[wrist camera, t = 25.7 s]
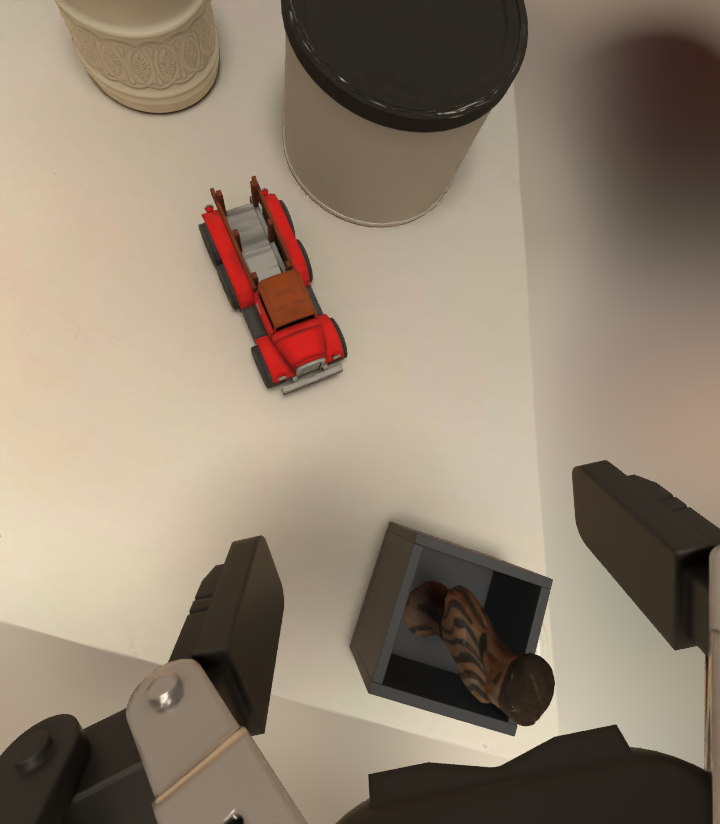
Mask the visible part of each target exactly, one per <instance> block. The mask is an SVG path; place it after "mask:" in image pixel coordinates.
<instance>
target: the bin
mask: <svg viewBox="0 0 720 824" xmlns="http://www.w3.org/2000/svg"><path fill="white" fill-rule="evenodd" d="M429 581H435V582H439V583H441V584H443V585H444V586H446V587H447V588H448V589H449V590H450V589H451V588H454V587H455V586H458V585H461V586H463V587H465V588H467V589H469V590H470V591H471V592H472V593H473V595H474V596H475V597H476V598H477V600H478V601H479V603H480V604H481V606H482V607H483V608H484V610H485V613H486V614H487V616H488V618H489V620H490V622H491V624H492V627H493V629H494V631H495V632H496V634H497V635H498V638H499V640H500V641H501V643H502V644H503V645H505V646H507V647H508V648H509V649H510V650H511V651H513V652H515V653H516V654H517V655H518V656H519V655H522V654H526V653H533V654H535V651H536V647H537V643H538V639H539V635H540V631H541V627H542V623H543V619H544V614H545V610H546V606H547V602H548V598H549V594H550V589H551V586H552V581H553V580H552V579H550V578H548V577H545V576H542V575H540V574H537V573H534V572H532V571H529V570H526V569H524V568H521V567H519V566H516V565H513V564H511V563H508V562H505V561H503V560H500V559H497V558H494V557H492V556H489V555H486V554H483V553H480V552H477V551H474V550H471V549H468V548H465V547H463V546H460V545H457V544H454V543H451V542H448V541H445V540H442V539H439V538H436V537H434V536H431V535H428V534H425V533H422V532H419V531H416V530H413V529H410V528H407V527H405V526H402V525H399V524H396V523H393V522H389V525H388V528H387V531H386V534H385V537H384V540H383V544H382V547H381V550H380V553H379V556H378V559H377V562H376V566H375V569H374V572H373V575H372V578H371V581H370V584H369V588H368V591H367V594H366V597H365V600H364V603H363V606H362V609H361V613H360V616H359V619H358V622H357V625H356V628H355V631H354V635H353V638H352V641H351V644H350V649H351V651H352V654H353V656H354V659H355V661H356V664H357V666H358V669H359V671H360V673H361V676H362V678H363V681H364V683H365V686H366V688H367V691H368V693H369V694H373V695H376V696H379V697H383V698H386V699H390V700H393V701H396V702H400V703H403V704H406V705H410V706H413V707H416V708H420V709H423V710H427V711H430V712H433V713H437V714H440V715H443V716H447V717H450V718H454V719H457V720H460V721H464V722H467V723H470V724H474V725H477V726H481V727H484V728H487V729H491V730H494V731H497V732H501V733H504V734H507V735H511V736H515V733H516V729H517V725H518V724H517V723H516V722H515V721H513V720H512V719H511V718H509V717H508V716H507V715H506V714H505V713H504V712H503V711H502V710H501V709H500V708H498V707H497V706H496V705H495V704H493V703H492V702H491V703H482V702H480V701H479V700H478V699H477V698H476V697H475V696H474V695H473V694H472V693H471V692H470V691H469V690H468V689H467V687H466V686H465V684H464V683H463V681H462V679H461V677H460V674H459V672H458V670H457V668H456V665H455V662H454V660H453V657H452V655H451V652H450V650H449V649H448V647H447V645H446V644H445V643H444V641H443V640H442V639H441V638H440V637H439V636H438V635H437V634H436V635H432V636H427V637H418V636H415V635H414V634H412V633H411V632H410V630H409V629H408V627H407V625H406V623H405V620H404V617H403V613H404V610H405V607H406V603H407V600H408V597H409V594H410V593H411V592H412V591H413V590H414V589H416V588H418V587H419V586H420V585H422V584H423V583H425V582H429Z"/></svg>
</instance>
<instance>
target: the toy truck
mask: <svg viewBox="0 0 720 824" xmlns="http://www.w3.org/2000/svg"><path fill="white" fill-rule="evenodd" d="M250 183H251V193H252V196H250V202H251V204H247V205H244V206H241V207H237V208H234V209H231V210H227V211H226V209H225V204H224V200H223V195H222V193H221V190H218V191H216V193H215V191H214V188H211V189H210V191H211V195H212V197H213V199H214V202H215V204H216V206H217V209H218V210H214V211H213V206H212V205H207V206H205V208H204V209H205V210H206V211H207V212H208V213H204V214H202V218H203V219H204V221H205V223H203V224H202V225H201V224H200V225H199V230H200V232H201V235H202V238H203V240H204V243H205V245H206V248H207V250H208V253H209V255H210V258H211V260H212V262H213V264H214V266H215V267H216V269H217V272H218V275H219V278H220V280H221V283H222V285H223V288H224V290H225V293H226V295H227V297H228V300H229V302H230V304H231V306H232V307H233V309H234V308H237V307H240V308H241V310H242V313H243V315H244V317H245V320H246V322H247V324H248V327H249V329H250V331H251V334H252V336H253V338H254V340H255V342H256V343H257V345H256V346H254V347H251V351H252V354H253V357H254V360H255V362H256V365H257V367H258V370H259V372H260V374H261V377H262V379H263V381H264V383H265V385H266V387H267V388H270V387H273V386H274V385H278V384H280V383H283V382H285V381H286V379H287V378H290V377H291V379H292V381H293V383H292V384H290V385H287V386H284V387H282V388H281V390H282V392H283V394H284V395H285V394H287V393H290V392H292V391H295V390H297V389H300V388H302V387H305V386H307V385H310V384H312V383H315V382H317V381H320V380H322V379H325V378H327V377H330V376H332V375H335V374H337V373H340V372H342V371H343V368H342V366H341V364H340V365H337V366H335V367H332V368H330V369H328V367H327V365H326V363H328V364H331V363H333V362H336V361H339V360H341V359H344V358H346V357H347V347H346V343H345V340H344V337H343V334H342V332H341V330H340V328H339V326H338V324H337V323H336V321H335V320H334V319H333V318H329V317H328V316H327V315H326V314H323V313H322V310H321V308H320V306H319V303H318V301H317V299H316V297H315V294H314V292H313V290H312V288H311V285H310V282H312V280H313V274H312V268H311V264H310V261H309V258H308V255H307V253H306V250H305V248H304V247H303V245H302V243H301V242H300V241H299V240H296V238H295V231H294V226H293V223H292V220H291V217H290V214H289V212H288V210H287V208H286V206H285V204H284V203H283V201H282V200H278V198H277V197H276V196H275V194H268V190H267V188H263V189H260V186H259V184H258V182H257V179H256V177H255V176H253V177H252V181H250ZM258 202H259V203H260V204H261V206H262V211H263V215H262V213H261V211H260V208H259V203H258ZM277 248H279V250H280V254H279V252H278V249H277ZM318 368H319V370H320V369H322V370H323V371H322V372H320V373H317V374H315V375H312V376H310V377H307V378H305V379H302V380H300V381H298V379H297V378H300V375H303V374H305V373H308V372H310V371H313V370H315V369H318Z"/></svg>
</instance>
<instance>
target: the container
mask: <svg viewBox="0 0 720 824" xmlns="http://www.w3.org/2000/svg"><path fill="white" fill-rule="evenodd" d="M281 9H282V17H283V22H284V27H285V31H286V59H285V119H284V124H283V144H284V151H285V155H286V158H287V162H288V164H289V167H290V169H291V171H292V173H293V175H294V177H295V178H296V180H297V182H298V183H299V185H300V186H301V187H302V189H303V190H304V191H305V192H306V193H307V194H308V195H309V196H310V198H311V199H312V200H314V201H315V202H316V203H317V204H318V205H320V206H321V207H322V208H324V209H325V210H327V211H328V212H330V213H332V214H333V215H335V216H337V217H339V218H341V219H344V220H346V221H349V222H352V223H356V224H360V225H365V226H372V227H388V226H396V225H400V224H405V223H408V222H410V221H413V220H415V219H417V218H419V217H421V216H423V215H424V214H426V213H427V212H428V211H430V210H431V209H432V208H433V207H434V206H435V205H436V204H437V203H438V202H439V201H440V200H441V198H442V197H443V195H444V194H445V192H446V191H447V189H448V187H449V185H450V183H451V181H452V178H453V175H454V174H455V172H456V170H457V168H458V167H459V165H460V163H461V161H462V160H463V158H464V156H465V154H466V153H467V151H468V149H469V147H470V146H471V144H472V142H473V140H474V139H475V137H476V135H477V133H478V132H479V130H480V128H481V127H482V125H483V123H484V121H485V120H486V118H487V116H488V114H489V113H490V111H491V109H492V108H493V107H495V106H496V105H497V103H498V102H499V101H500V100H501V99H502V98H503V96H504V95H505V93H506V92H507V90H508V88H509V87H510V85H511V83H512V82H513V80H514V78H515V77H516V75H517V73H518V71H519V69H520V66H521V64H522V62H523V59H524V56H525V52H526V48H527V39H528V21H527V14H526V8H525V4H524V0H281Z"/></svg>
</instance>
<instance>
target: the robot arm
mask: <svg viewBox="0 0 720 824" xmlns="http://www.w3.org/2000/svg"><path fill="white" fill-rule="evenodd" d="M572 480H573V494H574V507H575V519H576V525H577V528H578V531H579V534H580V536H581V538H582V540H583V542H584V543H585V544H586V546H587V547H588V548H589V549H590V550H591V552H592V553H593V554H594V555H595V556H596V558H597V559H598V560H599V561H600V562H601V563H602V565H603V566H604V567H605V568H606V569H607V571H608V572H609V573H610V574H611V575H612V577H613V578H614V579H615V580H616V581H617V582H618V584H619V585H620V586H621V587H622V588H623V590H624V591H625V592H626V593H627V594H628V596H629V597H630V598H631V599H632V600H633V601H634V603H635V604H636V605H637V606H638V607H639V609H640V610H641V611H642V612H643V613H644V614H645V616H646V617H647V618H648V619H649V620H650V622H651V623H652V624H653V625H654V626H655V627H656V629H657V630H658V631H659V632H660V633H661V635H662V636H663V637H664V638H665V639H666V640H667V642H668V643H669V644H670V645H671V646H672V648H673V649H674V650H680V649H685V648H689V647H694V646H698V647H699V648H700V649H701V650H702V651H703V653H704V654H705V751H704V753H705V755H704V759H705V760H704V769H702V768H700V767H698V766H696V765H694V764H691V763H689V762H686V761H684V760H682V759H679V758H676V757H674V756H670V755H667V754H664V753H660V752H657V751H652V750H647V749H642V748H634V747H629V745H628V744H627V742H626V741H625V739H624V737H623V735H622V733H621V732H620V730H619V728H618V727H617V725H612V726H606V727H601V728H596V729H591V730H586V731H581V732H576V733H572V734H567V735H562V736H556V737H553V738H552V739H550V740H548V741H546V742H544V743H542V744H540V745H539V746H537V747H535V748H533V749H531V750H529V751H527V752H526V753H524V754H522V755H520V756H518V757H516V758H514V759H513V760H511V761H509V762H507V763H505V764H503V765H501V766H498V767H479V766H467V765H455V764H441V763H430V762H428V763H423V764H418V765H413V766H408V767H403V768H398V769H393V770H388V771H384V772H378V773H373V774H369V775H368V776H369V795H370V798H369V799H367V800H366V801H364V802H362V803H361V804H359V805H357V806H356V807H355V808H353V809H352V810H351V811H350V812H348V813H347V814H345V815H344V816H343V817H342V818H341V819H340V820H339V821H338V822H337V823H336V824H720V529H719V528H718V527H716V526H715V525H714V524H712V523H711V522H709V521H708V520H707V519H705V518H704V517H703V516H701V515H700V514H698V513H697V512H696V511H694V510H693V509H692V508H690V507H689V508H687V506H686V504H685V503H683V502H682V501H681V500H679V499H678V498H676V497H673V495H672V494H671V493H669V492H668V491H667V490H665V489H664V488H663V487H661V486H660V485H658V484H657V483H655V482H653V481H650V480H647V479H645V478H642V477H639V476H636V475H630V476H627V475H625V474H624V473H623V472H621V471H620V470H619V469H618V468H616V467H615V466H613V465H612V464H611V463H610V462H608V461H606V460H604V461H599V462H594V463H590V464H585V465H581V466H576V467H574V468H573V471H572ZM283 610H284V595H283V589H282V584H281V581H280V578H279V575H278V573H277V570H276V567H275V564H274V561H273V558H272V556H271V553H270V550H269V547H268V544H267V542H266V539H265V538H264V537H263V536H262V535H261V536H256V537H252V538H247V539H243V540H238V541H234V542H233V543H232V544H231V547H230V550H229V552H228V555H227V558H226V561H225V563H224V564H221V565H216V566H215V567H214V568H213V569H212V570H211V571H210V573H209V574H208V575H207V576H206V577H205V578H204V579H203V581H202V582H201V585H200V587H199V589H198V592H197V594H196V597H195V601H193V604H192V606H191V609H190V611H189V612H190V614H189V615H188V616H187V618H186V621H185V623H184V625H183V628H182V630H181V633H180V635H179V637H178V640H177V642H176V645H175V647H174V649H173V652H172V654H171V657H170V659H169V661H168V663H167V664H165V665H163V666H161V667H159V668H158V669H156V670H154V671H153V672H152V673H151V674H149V675H148V676H147V677H146V678H145V679H144V680H143V681H142V682H141V683H140V684H139V685H138V686H137V688H136V689H135V691H134V692H133V694H132V695H131V697H130V699H129V702H128V704H127V708H125V709H124V710H122V711H120V712H118V713H116V714H114V715H112V716H110V717H107V718H106V719H103V720H101V721H99V722H97V723H95V724H93V725H91V726H89V727H87V728H85V729H82V727H81V725H80V724H79V722H78V721H77V719H76V718H75V717H74V716H72V715H69V714H61V715H56V716H53V717H50V718H47V719H45V720H43V721H41V722H39V723H38V724H36V725H34V726H32V727H31V728H30V729H28V730H27V731H25V732H24V733H23V734H22V735H20V736H19V737H18V738H17V739H16V740H15V741H14V742H13V743H12V744H11V745H10V746H9V747H8V748H7V749H6V750H5V751H4V752H3V753H2V755H1V756H0V824H308V823H307V822H306V820H305V818H304V817H303V815H302V814H301V812H300V811H299V809H298V808H297V806H296V805H295V803H294V802H293V800H292V798H291V797H290V795H289V794H288V792H287V791H286V789H285V788H284V786H283V785H282V783H281V782H280V780H279V779H278V777H277V776H276V774H275V772H274V771H273V769H272V768H271V766H270V765H269V763H268V762H267V760H266V759H265V757H264V756H263V754H262V752H261V751H260V749H259V748H258V747H257V745H256V743H255V742H254V740H253V739H252V737H251V736H254V735H259V734H264V733H265V726H266V720H267V713H268V707H269V701H270V694H271V688H272V681H273V675H274V668H275V662H276V655H277V649H278V642H279V636H280V629H281V623H282V616H283Z"/></svg>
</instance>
